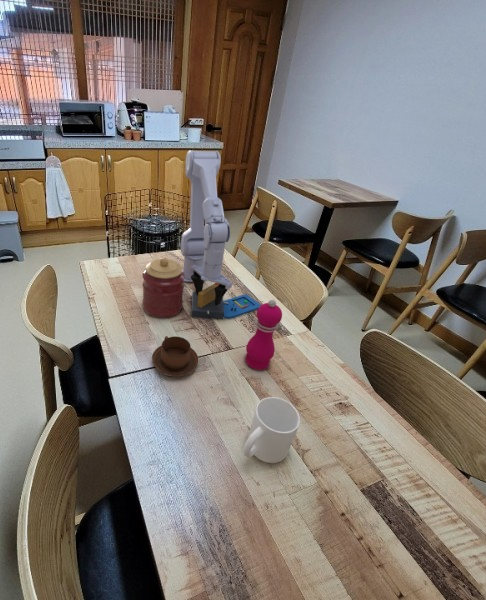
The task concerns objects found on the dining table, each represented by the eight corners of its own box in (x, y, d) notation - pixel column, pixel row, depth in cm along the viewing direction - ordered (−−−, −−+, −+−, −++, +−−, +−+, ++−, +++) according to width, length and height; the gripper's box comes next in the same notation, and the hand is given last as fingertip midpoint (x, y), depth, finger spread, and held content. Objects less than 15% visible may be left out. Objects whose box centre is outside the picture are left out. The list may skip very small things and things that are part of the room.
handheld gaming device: (211, 304, 111) (245, 293, 118) (210, 306, 112) (245, 295, 118) (226, 317, 105) (262, 305, 112) (226, 320, 106) (261, 308, 113)
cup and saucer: (142, 363, 88) (142, 345, 85) (173, 342, 96) (175, 324, 92) (176, 388, 82) (177, 370, 78) (206, 363, 89) (209, 346, 86)
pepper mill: (275, 362, 91) (294, 300, 80) (261, 376, 87) (279, 313, 76) (252, 348, 95) (267, 288, 84) (238, 361, 91) (251, 299, 80)
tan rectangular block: (200, 308, 106) (202, 294, 103) (196, 306, 107) (198, 292, 104) (218, 297, 112) (220, 283, 109) (214, 295, 112) (216, 281, 110)
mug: (255, 483, 64) (266, 451, 58) (225, 449, 69) (232, 417, 63) (295, 450, 70) (309, 419, 64) (265, 422, 75) (275, 390, 69)
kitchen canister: (187, 316, 106) (191, 266, 96) (146, 320, 103) (146, 270, 93) (176, 294, 117) (180, 247, 107) (139, 297, 114) (139, 249, 104)
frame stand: (186, 318, 105) (186, 311, 104) (187, 295, 116) (187, 289, 115) (228, 321, 105) (229, 315, 104) (225, 298, 116) (226, 291, 115)
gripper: (186, 256, 103) (183, 294, 110) (224, 274, 95) (218, 313, 102) (200, 250, 107) (197, 286, 114) (238, 266, 99) (232, 304, 107)
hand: (208, 299), depth 109 cm, fingers open, 7 cm apart
